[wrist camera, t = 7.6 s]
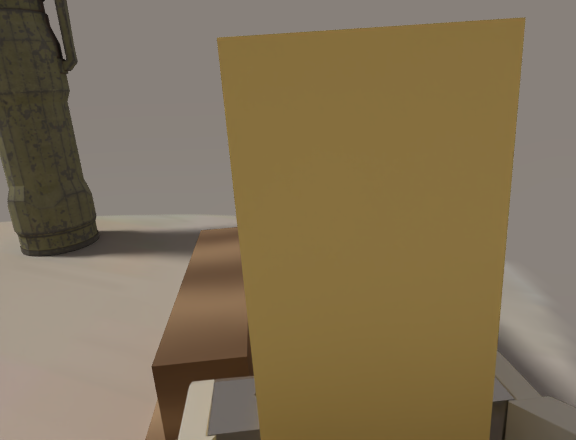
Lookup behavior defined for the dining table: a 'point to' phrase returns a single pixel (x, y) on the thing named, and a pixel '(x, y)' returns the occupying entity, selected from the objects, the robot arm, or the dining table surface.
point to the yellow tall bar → (373, 223)
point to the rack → (202, 330)
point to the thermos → (41, 132)
